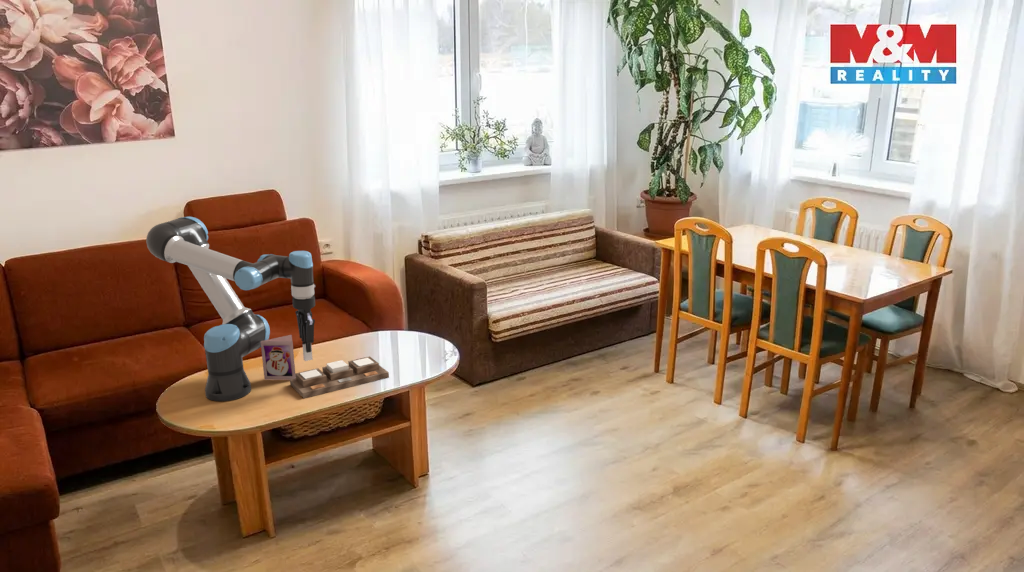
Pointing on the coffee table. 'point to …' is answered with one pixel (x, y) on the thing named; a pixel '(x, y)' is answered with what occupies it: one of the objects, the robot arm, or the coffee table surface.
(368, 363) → the button right
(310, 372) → the button left
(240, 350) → the robot arm
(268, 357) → the greeting card
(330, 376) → the button board
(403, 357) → the coffee table surface
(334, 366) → the button middle
